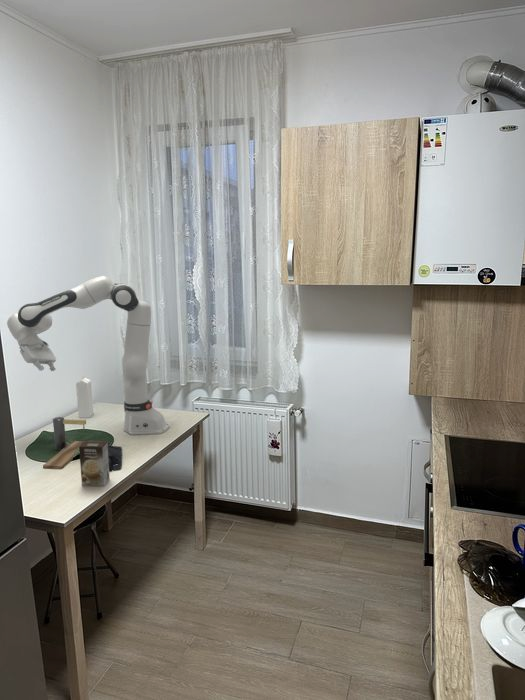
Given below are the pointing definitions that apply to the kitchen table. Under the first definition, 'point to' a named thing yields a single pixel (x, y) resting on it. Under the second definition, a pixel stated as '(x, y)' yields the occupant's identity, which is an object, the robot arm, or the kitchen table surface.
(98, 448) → the coffee box
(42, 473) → the kitchen table surface
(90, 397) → the milk
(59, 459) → the board
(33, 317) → the robot arm
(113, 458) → the dark slate chunk
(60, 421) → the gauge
